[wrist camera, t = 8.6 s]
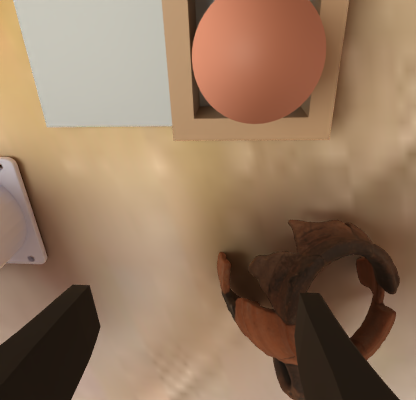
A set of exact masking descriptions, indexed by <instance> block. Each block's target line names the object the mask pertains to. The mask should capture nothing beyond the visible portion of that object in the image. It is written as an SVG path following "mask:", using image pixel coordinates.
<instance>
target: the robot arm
mask: <svg viewBox="0 0 416 400" xmlns="http://www.w3.org/2000/svg"><path fill="white" fill-rule="evenodd" d="M0 164H1V165H2V167H3V168H1V167H0V269H1V268H2V267H3V266H4V265H5V264H6V263H14V264H43V263H45V261H46V260H47V254H46V251H45V248H44V245H43V242H42V239H41V236H40V233H39V230H38V226H37V223H36V220H35V217H34V214H33V211H32V208H31V205H30V202H29V199H28V196H27V193H26V190H25V187H24V184H23V180H22V177H21V174H20V171H19V168H18V165H17V163H16V161H15V160H14V159H12V158H10V157H0ZM31 256H32V257H31ZM33 257H34V258H33ZM99 330H100V323H99V319H98V315H97V312H96V308H95V304H94V300H93V297H92V293H91V289H90V285H72V286H71V287H70V288H68V289H67V290H66V291H65V292H64V293H62V294H61V295H60V296H59V297H58V298H57V299H55V300H54V301H53V302H52V303H51V304H50V305H49V306H47V307H46V308H45V309H44V310H43V311H42V312H40V313H39V314H38V315H37V316H36V317H34V318H33V319H32V320H31V321H30V322H29V323H27V324H26V325H25V326H24V327H23V328H21V329H20V330H19V331H18V332H17V333H15V334H14V335H13V336H11V337H10V338H9V339H8V340H6V341H5V342H4V343H3V344H1V345H0V400H71V399H72V397H73V394H74V392H75V390H76V388H77V386H78V384H79V382H80V379H81V377H82V375H83V373H84V371H85V368H86V366H87V364H88V362H89V359H90V357H91V355H92V352H93V349H94V346H95V343H96V340H97V336H98V333H99ZM294 338H295V347H296V356H297V364H298V370H299V374H300V379H301V383H302V388H303V392H304V397H305V400H400V399H399V398H398V397H397V396H396V395H395V394H394V393H393V392H392V391H391V389H390V388H389V387H388V386H387V385H386V384H385V382H384V381H383V380H382V379H381V378H380V376H379V375H378V374H377V373H376V372H375V370H374V369H373V368H372V367H371V366H370V364H369V363H368V362H367V360H366V359H365V358H364V357H363V355H362V354H361V353H360V351H359V350H358V349H357V347H356V346H355V345H354V343H353V342H352V341H351V339H350V338H349V337H348V335H347V334H346V332H345V331H344V330H343V328H342V327H341V325H340V324H339V322H338V321H337V319H336V318H335V316H334V315H333V313H332V312H331V310H330V309H329V307H328V306H327V304H326V303H325V301H324V299H323V298H322V296H321V295H320V294H319V293H300V295H299V302H298V310H297V318H296V326H295V333H294Z"/></svg>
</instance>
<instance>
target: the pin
mask: <svg viewBox="0 0 416 400" xmlns="http://www.w3.org/2000/svg"><path fill="white" fill-rule="evenodd" d="M325 58H326V36H325V31H324V27H323V24H322V21H321V18H320V16H319V14H318V12H317V10H316V9H315V7H314V6H313V4H312V3H311V2H310V1H309V0H215V1H214V2H213V3H212V4H211V5H210V7H209V8H208V9H207V11H206V12H205V13H204V15H203V17H202V19H201V21H200V23H199V25H198V28H197V30H196V33H195V37H194V41H193V48H192V65H193V71H194V76H195V79H196V82H197V85H198V87H199V89H200V91H201V93H202V94H203V96H204V97H205V99H206V100H207V101H208V103H209V104H210V105H211V106H212V107H213V108H214V109H215V110H217V111H218V112H219V113H221V114H222V115H224V116H225V117H227V118H229V119H231V120H234V121H237V122H241V123H246V124H263V123H269V122H273V121H276V120H279V119H281V118H283V117H285V116H287V115H289V114H290V113H292V112H293V111H295V110H296V109H297V108H298V107H300V106H301V105H302V104H303V103H304V102H305V101H306V100H307V98H308V97H309V96H310V95H311V93H312V92H313V90H314V89H315V87H316V85H317V83H318V81H319V79H320V77H321V74H322V71H323V68H324V63H325Z"/></svg>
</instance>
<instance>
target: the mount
mask: <svg viewBox="0 0 416 400" xmlns="http://www.w3.org/2000/svg"><path fill="white" fill-rule="evenodd" d="M214 1H215V0H13V2H14V5H15V9H16V13H17V17H18V20H19V24H20V28H21V32H22V35H23V39H24V43H25V47H26V50H27V54H28V58H29V62H30V65H31V69H32V73H33V77H34V81H35V84H36V88H37V92H38V96H39V99H40V103H41V107H42V111H43V114H44V118H45V122H46V126H47V127H122V126H172V128H173V140H174V141H201V140H329V138H330V131H331V124H332V117H333V110H334V103H335V96H336V89H337V83H338V76H339V69H340V62H341V55H342V48H343V41H344V34H345V27H346V20H347V13H348V6H349V0H309V1H310V2H311V3H312V4H313V6H314V7H315V9H316V10H317V12H318V14H319V16H320V18H321V21H322V24H323V27H324V31H325V36H326V58H325V63H324V68H323V71H322V74H321V77H320V79H319V81H318V83H317V85H316V87H315V89H314V90H313V92H312V93H311V95H310V96H309V97H308V98H307V100H306V101H305V102H304V103H303V104H302V105H301V106H300V107H298V108H297V109H296V110H295V111H293V112H292V113H290V114H289V115H287V116H285V117H283V118H281V119H279V120H276V121H273V122H269V123H263V124H246V123H241V122H237V121H234V120H231V119H229V118H227V117H225V116H224V115H222V114H221V113H219V112H218V111H217V110H215V109H214V108H213V107H212V106H211V105H210V104H209V103H208V101H207V100H206V99H205V97H204V96H203V94H202V93H201V91H200V89H199V87H198V85H197V82H196V79H195V76H194V71H193V65H192V48H193V41H194V37H195V33H196V30H197V28H198V25H199V23H200V21H201V19H202V17H203V15H204V13H205V12H206V11H207V9H208V8H209V7H210V5H211V4H212V3H213V2H214Z"/></svg>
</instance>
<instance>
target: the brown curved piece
mask: <svg viewBox="0 0 416 400" xmlns="http://www.w3.org/2000/svg"><path fill="white" fill-rule="evenodd" d="M288 224H289V225H290V226H291V228H292V230H293V233H294V238H295V242H296V247H297V254H293V253H290V252H287V251H282V252H276V253H272V254H270V255H259V256H256V257H255V258H254V259H253V261H252V262H251V263H250V264H249V266H248V271H249V272H250V273H251V274H252V275H253V276H254V277H255V278H256V279H258V281H259V284H260V286H261V288H262V290H263V291H264V293H265V294H266V295H267V297H268V299H269V301H270V303H271V304H272V306H273V308H274V309H269V308H264V307H262V306H260V304H259V303H258V302H256V301H251V300H249V299H246V298H241V297H239V296H238V295H237V294H235V293H234V292H233V291H232V290H231V288H230V271H231V263H230V262H229V261H228V260H227V258H226V255H225V253H223V252H220V253H219V255H218V261H217V269H218V276H219V280H220V286H221V289H222V295H223V297H224V300H225V302H226V304H227V308H228V310H229V311H230V312H231V314H232V317H233V319H234V320H235V322H236V323H237V325H238V327H239V328H240V330H241V331H242V332H243V334H244V335H245V336H247V337H248V338H249V339H250V340H251V342H252V343H254V344H255V346H256V347H258V348H259V349H260V350H262V351H263V352H264V353H265V354H266V355H268V356H271V357H273V362H274V367H275V371H276V375H277V379H278V381H279V384H280V386H281V388H282V390H283V391H284V392H285V393H286V394H287V395H288V396H289V397H290V398H291V399H293V400H305V397H304V392H303V388H302V383H301V379H300V374H299V370H298V364H297V356H296V347H295V338H294V333H295V326H296V318H297V310H298V302H299V295H300V293H306V292H307V290H308V288H309V286H310V284H311V282H312V281H313V280H314V278H315V277H316V275H317V274H318V273H319V272H320V271H321V270H322V269H323V268H324V267H325V266H327V265H328V264H330V263H331V262H333V261H335V260H337V259H339V258H342V257H344V256H348V255H353V254H354V255H361V256H364V257H365V258H364V257H363V258H359V259H357V262H356V267H357V273H358V278H359V280H360V283H361V284H363V285H364V286H366V287H369V288H370V289H371V291H372V293H373V298H372V303H371V306H370V308H369V311H368V313H367V316H366V318H365V320H364V322H363V323H362V325H361V327H360V328H359V329H358V330H357V331H356V332H355V333H354V335H353V336H352V337H351V338H350V339H351V341H352V342H353V343H354V345H355V346H356V347H357V349H358V350H359V351H360V353H361V354H362V355H363V357H364V358H365V359H366V360H367V359H368V358H369V357H371V356H372V355H373V354H374V353H375V352H376V351H377V350H378V349H379V347H380V346H381V344H382V342H383V341H385V339H386V337H387V335H388V334H389V332H390V330H391V328H392V326H393V324H394V321H395V317H396V312H395V311H394V310H392V309H391V308H389V307H387V306H385V305H384V304H383V299H384V293H385V291H386V292H388V293H389V294H395V293H396V290H397V288H398V285H399V283H400V282H399V281H400V279H399V276H398V272H397V269H396V267H395V265H394V264H393V261H392V259H391V258H390V256H389V255H388V254H387V253H386V252H385V250H383V249H382V248H380V247H379V246H377V245H375V244H373V243H372V241H371V240H370V239H369V238H368V236H367V235H366V234H365V233H364V232H363V231H362V230H361V229H359V228H358V227H356V226H355V225H353V224H352V223H349V222H347V223H345V224H344V223H343V222H342V221H339V220H331V221H327V222H316V223H315V222H305V221H300V220H289V221H288Z"/></svg>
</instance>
